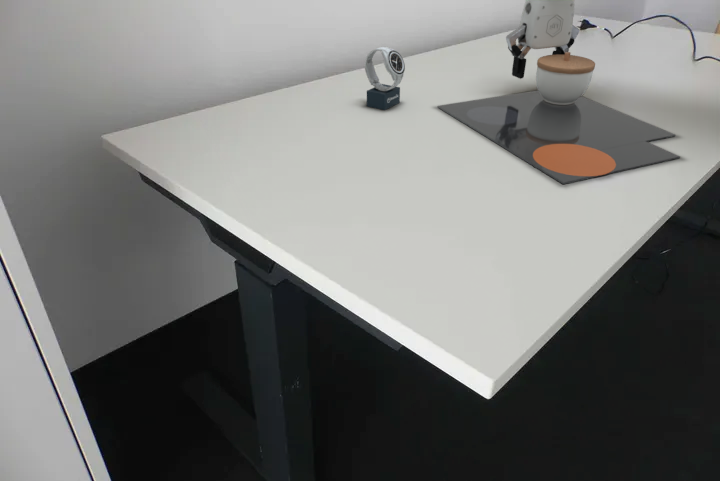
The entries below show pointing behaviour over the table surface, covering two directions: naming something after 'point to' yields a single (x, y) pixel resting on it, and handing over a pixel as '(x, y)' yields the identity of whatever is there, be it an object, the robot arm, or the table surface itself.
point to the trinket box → (563, 77)
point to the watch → (382, 93)
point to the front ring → (574, 160)
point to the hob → (562, 129)
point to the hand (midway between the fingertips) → (536, 74)
